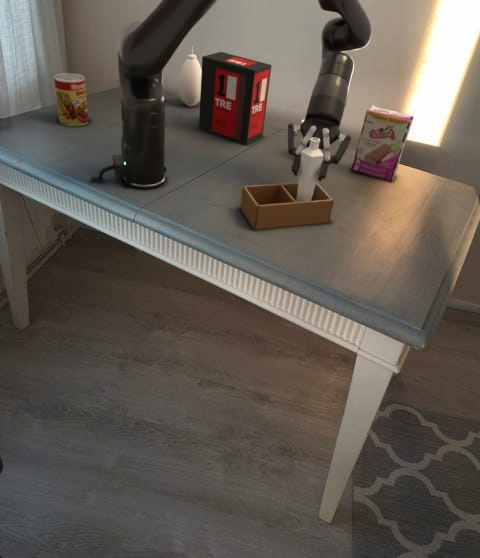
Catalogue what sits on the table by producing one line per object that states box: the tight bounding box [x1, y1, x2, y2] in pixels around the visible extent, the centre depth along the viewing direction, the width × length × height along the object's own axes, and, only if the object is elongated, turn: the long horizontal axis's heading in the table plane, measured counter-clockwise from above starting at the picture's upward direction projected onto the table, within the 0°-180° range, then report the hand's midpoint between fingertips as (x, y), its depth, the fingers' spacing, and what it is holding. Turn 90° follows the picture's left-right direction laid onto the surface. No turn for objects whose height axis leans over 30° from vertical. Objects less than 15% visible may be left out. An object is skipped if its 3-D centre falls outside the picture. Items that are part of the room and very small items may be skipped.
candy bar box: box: [351, 105, 414, 182], centre depth 129 cm, size 11×5×16 cm, turn 65°
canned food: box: [53, 72, 89, 127], centre depth 139 cm, size 8×8×12 cm
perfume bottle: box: [296, 137, 324, 202], centre depth 106 cm, size 5×4×15 cm
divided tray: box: [239, 181, 335, 230], centre depth 109 cm, size 18×9×6 cm, turn 109°
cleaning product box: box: [198, 51, 272, 146], centre depth 141 cm, size 16×9×20 cm, turn 58°
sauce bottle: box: [178, 45, 202, 107], centre depth 158 cm, size 8×8×18 cm
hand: (307, 176), depth 105 cm, fingers closed on perfume bottle, 4 cm apart
